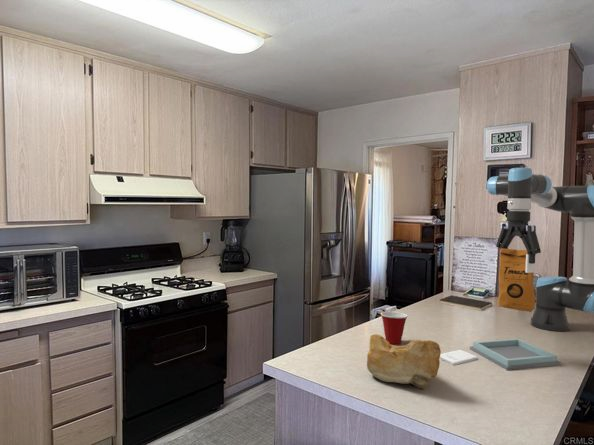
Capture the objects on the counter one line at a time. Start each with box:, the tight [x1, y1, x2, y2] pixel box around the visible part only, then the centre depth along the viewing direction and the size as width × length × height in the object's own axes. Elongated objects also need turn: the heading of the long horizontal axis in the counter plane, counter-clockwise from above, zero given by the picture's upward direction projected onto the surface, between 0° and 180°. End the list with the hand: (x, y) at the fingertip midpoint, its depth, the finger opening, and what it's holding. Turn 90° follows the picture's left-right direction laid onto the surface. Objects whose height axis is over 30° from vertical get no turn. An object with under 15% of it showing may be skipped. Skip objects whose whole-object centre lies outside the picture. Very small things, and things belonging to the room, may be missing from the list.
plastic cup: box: [380, 311, 408, 346], centre depth 166 cm, size 11×11×12 cm
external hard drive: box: [439, 349, 478, 366], centre depth 150 cm, size 2×8×12 cm
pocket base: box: [469, 338, 561, 371], centre depth 152 cm, size 22×20×3 cm
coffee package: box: [497, 248, 536, 313], centre depth 150 cm, size 10×12×22 cm
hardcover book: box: [439, 295, 493, 311], centre depth 229 cm, size 16×23×2 cm
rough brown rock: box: [366, 333, 442, 390], centre depth 132 cm, size 23×17×15 cm
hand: (516, 269), depth 150 cm, fingers closed on coffee package, 12 cm apart
